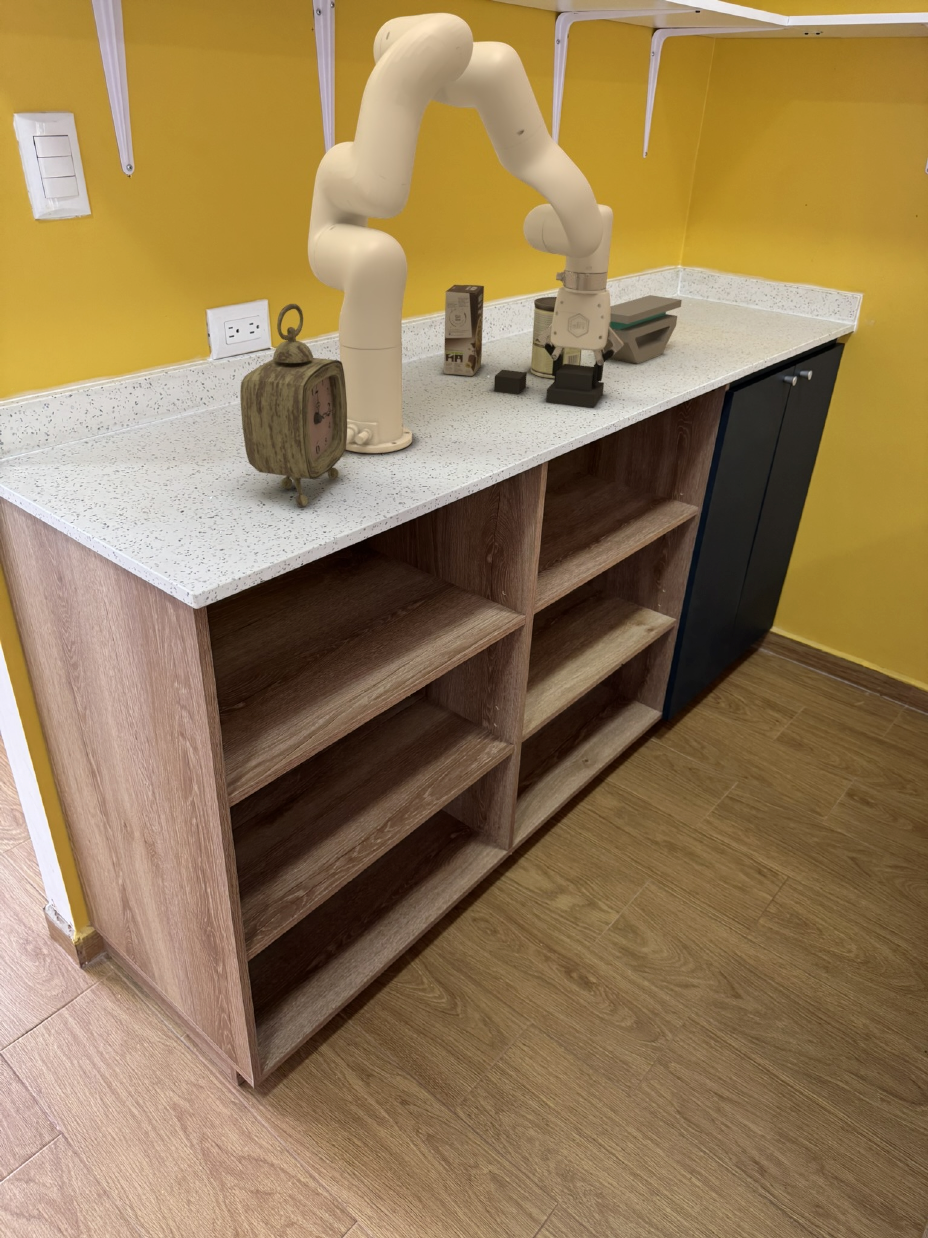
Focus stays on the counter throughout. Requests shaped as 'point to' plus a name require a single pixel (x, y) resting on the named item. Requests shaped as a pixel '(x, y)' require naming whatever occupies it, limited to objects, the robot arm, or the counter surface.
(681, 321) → the counter surface
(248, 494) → the counter surface
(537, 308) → the coffee can
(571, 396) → the large pad
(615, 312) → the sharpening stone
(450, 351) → the coffee box
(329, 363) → the tabletop clock
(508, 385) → the small pad
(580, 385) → the medium pad
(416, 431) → the counter surface
